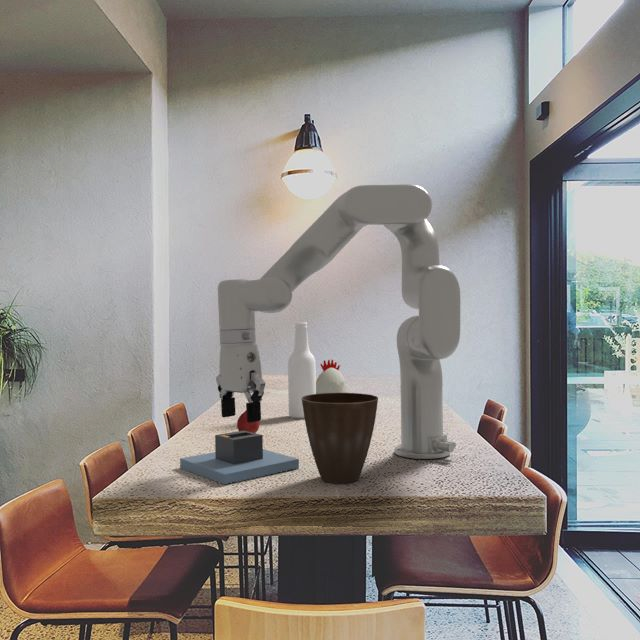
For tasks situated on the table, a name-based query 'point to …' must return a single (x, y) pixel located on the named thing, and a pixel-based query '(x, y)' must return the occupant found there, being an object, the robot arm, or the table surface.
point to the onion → (247, 424)
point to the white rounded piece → (331, 380)
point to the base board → (238, 466)
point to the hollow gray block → (238, 447)
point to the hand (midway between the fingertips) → (241, 418)
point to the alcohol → (300, 372)
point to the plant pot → (340, 432)
